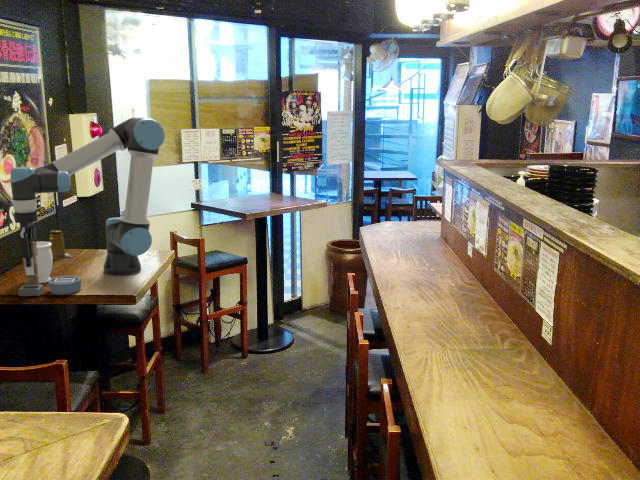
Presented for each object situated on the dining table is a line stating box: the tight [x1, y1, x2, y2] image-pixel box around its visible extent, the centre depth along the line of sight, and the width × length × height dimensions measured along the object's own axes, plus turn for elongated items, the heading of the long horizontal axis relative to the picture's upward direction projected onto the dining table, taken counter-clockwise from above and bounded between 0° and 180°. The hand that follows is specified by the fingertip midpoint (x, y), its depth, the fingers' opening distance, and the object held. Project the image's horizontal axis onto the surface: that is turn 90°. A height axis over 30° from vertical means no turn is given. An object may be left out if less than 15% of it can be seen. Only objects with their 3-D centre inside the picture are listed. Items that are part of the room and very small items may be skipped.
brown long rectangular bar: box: [22, 241, 40, 285], centre depth 220 cm, size 4×2×16 cm, turn 99°
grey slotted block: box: [18, 284, 45, 297], centre depth 222 cm, size 7×6×2 cm
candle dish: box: [47, 275, 82, 296], centre depth 227 cm, size 11×11×4 cm
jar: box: [22, 240, 54, 285], centre depth 236 cm, size 11×10×15 cm
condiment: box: [49, 229, 73, 260], centre depth 273 cm, size 7×8×12 cm
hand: (31, 273), depth 221 cm, fingers closed on brown long rectangular bar, 2 cm apart
